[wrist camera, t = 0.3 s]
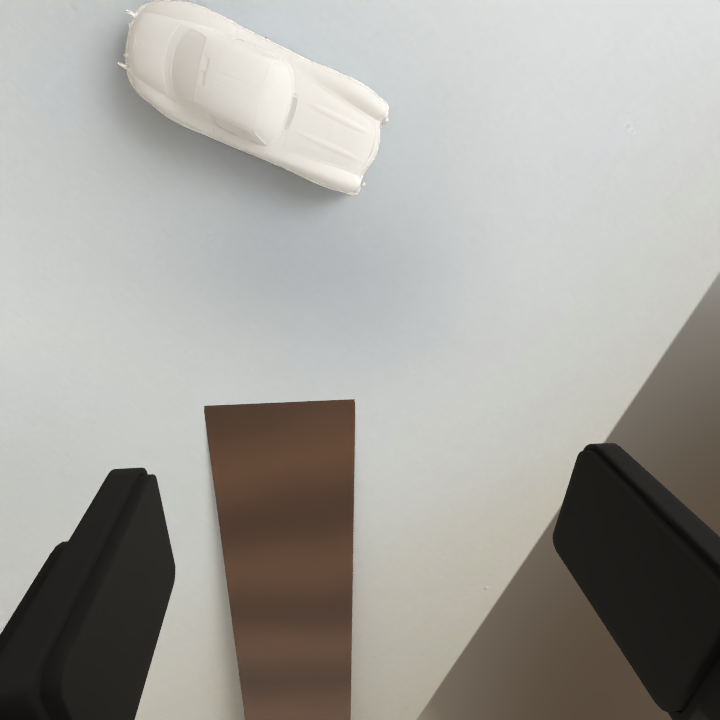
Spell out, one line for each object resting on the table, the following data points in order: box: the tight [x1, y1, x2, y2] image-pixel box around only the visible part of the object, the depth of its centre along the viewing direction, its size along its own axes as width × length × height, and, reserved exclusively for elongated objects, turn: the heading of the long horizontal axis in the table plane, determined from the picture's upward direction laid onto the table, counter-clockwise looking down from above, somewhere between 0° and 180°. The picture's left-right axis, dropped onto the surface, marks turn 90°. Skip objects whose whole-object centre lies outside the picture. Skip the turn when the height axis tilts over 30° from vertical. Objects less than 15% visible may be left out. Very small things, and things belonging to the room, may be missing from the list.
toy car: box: [118, 0, 389, 196], centre depth 20 cm, size 5×12×4 cm, turn 68°
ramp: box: [204, 399, 355, 720], centre depth 40 cm, size 56×10×5 cm, turn 179°
